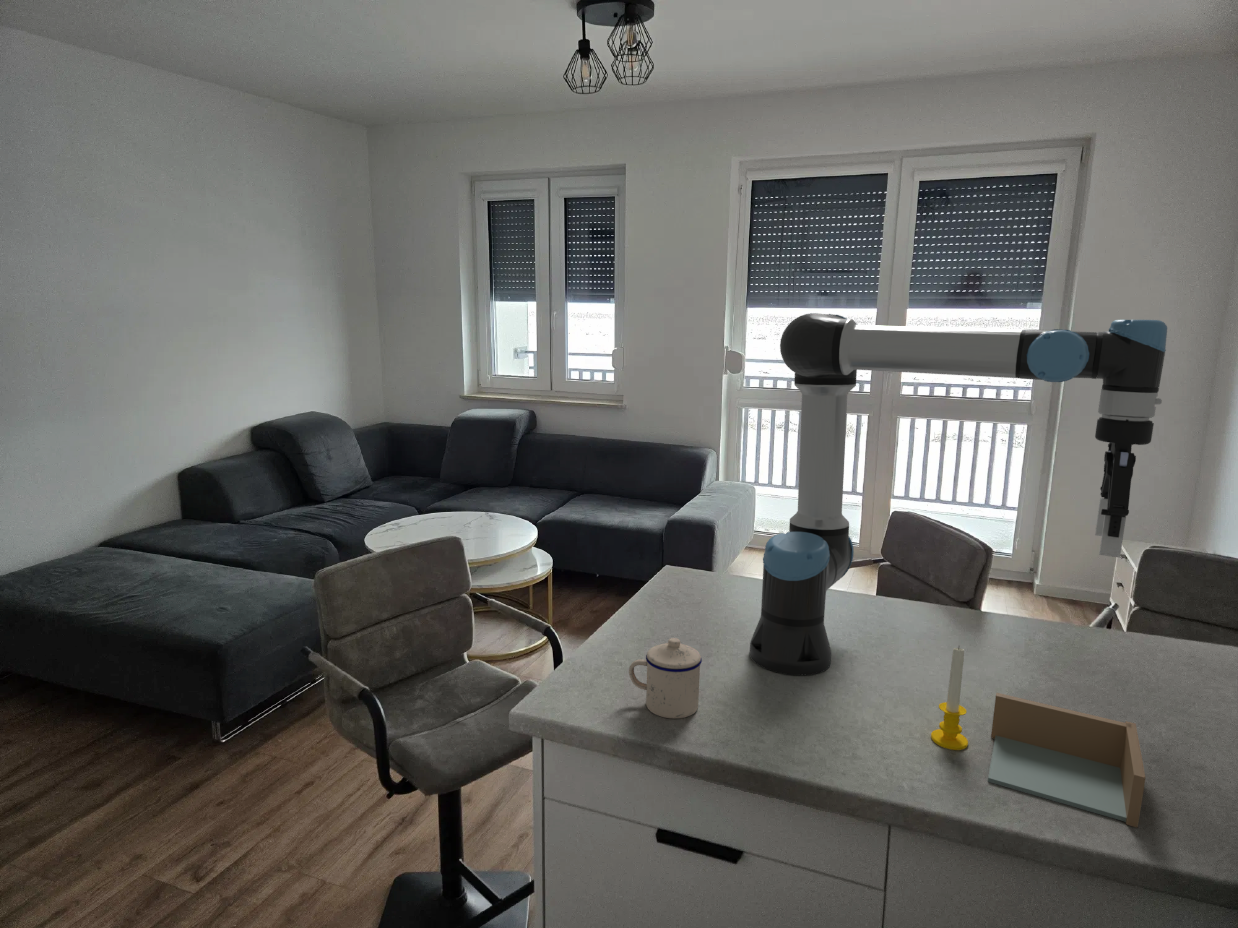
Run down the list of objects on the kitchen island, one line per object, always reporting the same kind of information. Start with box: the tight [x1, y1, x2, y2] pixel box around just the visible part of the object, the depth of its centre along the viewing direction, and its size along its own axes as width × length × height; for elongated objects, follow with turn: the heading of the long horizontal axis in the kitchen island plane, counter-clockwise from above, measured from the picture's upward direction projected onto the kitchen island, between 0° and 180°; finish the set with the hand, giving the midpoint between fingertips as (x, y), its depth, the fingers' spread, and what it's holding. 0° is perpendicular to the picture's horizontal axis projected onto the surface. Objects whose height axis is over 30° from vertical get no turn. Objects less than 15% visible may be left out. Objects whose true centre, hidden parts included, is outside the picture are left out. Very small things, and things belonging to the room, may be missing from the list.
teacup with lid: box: [628, 637, 703, 719], centre depth 121 cm, size 12×9×12 cm
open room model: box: [987, 692, 1146, 828], centre depth 104 cm, size 18×15×7 cm
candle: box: [930, 646, 969, 751], centre depth 111 cm, size 5×5×16 cm
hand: (1106, 545), depth 122 cm, fingers open, 13 cm apart
